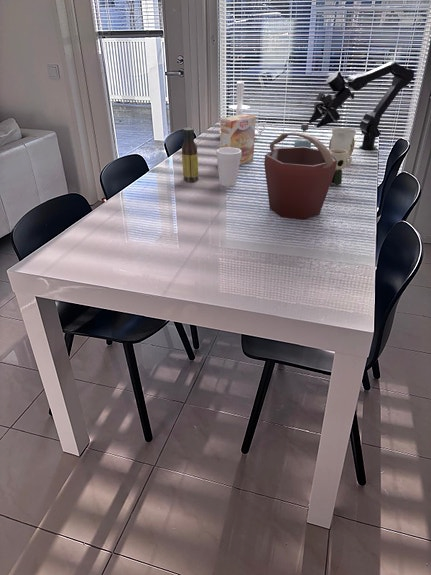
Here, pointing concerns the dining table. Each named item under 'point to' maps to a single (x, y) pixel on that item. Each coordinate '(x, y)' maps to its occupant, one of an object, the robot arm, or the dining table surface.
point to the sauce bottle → (189, 156)
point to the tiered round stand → (302, 143)
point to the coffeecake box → (239, 135)
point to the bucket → (298, 178)
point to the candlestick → (241, 107)
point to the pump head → (304, 127)
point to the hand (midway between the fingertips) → (312, 124)
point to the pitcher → (343, 140)
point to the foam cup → (228, 165)
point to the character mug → (339, 164)
